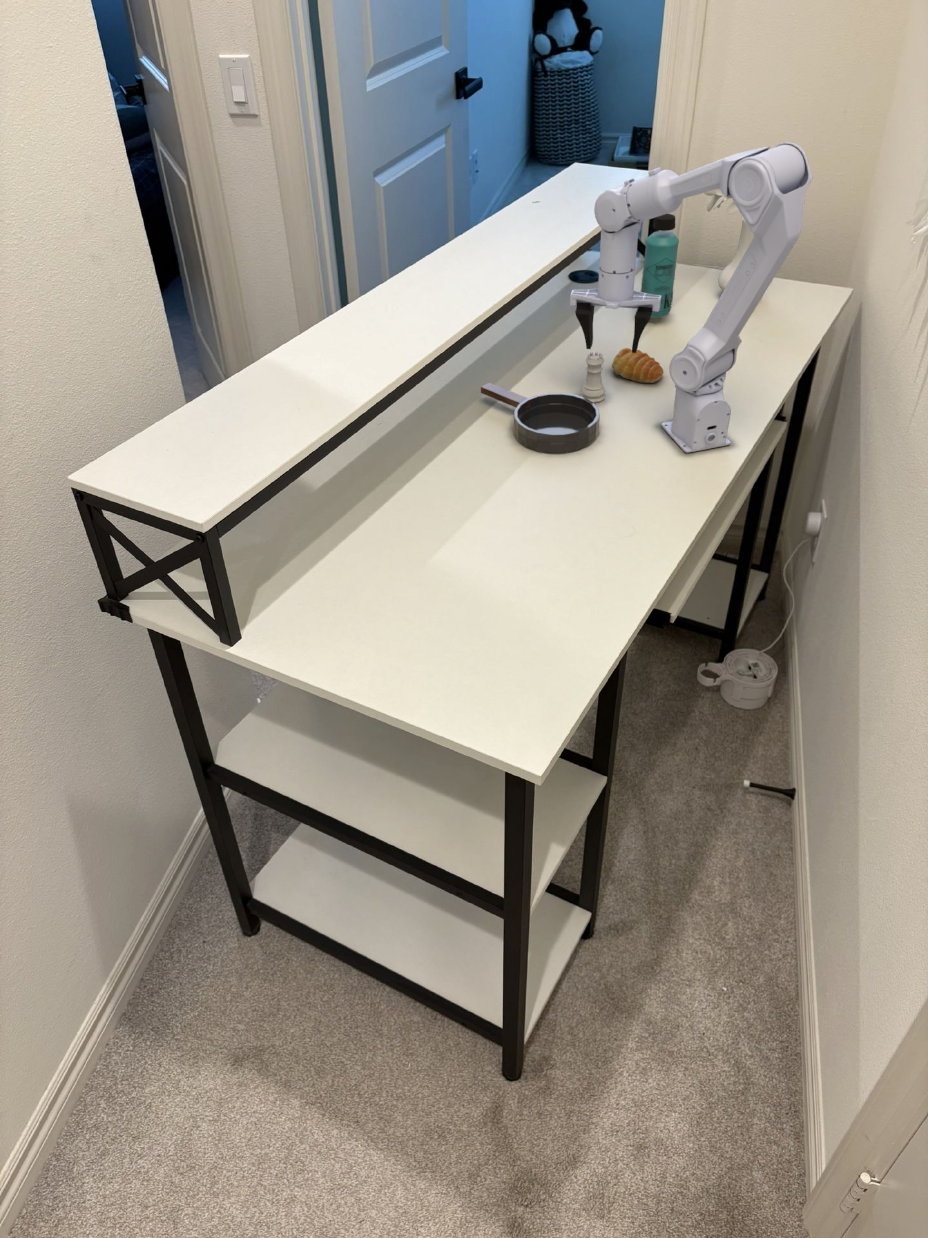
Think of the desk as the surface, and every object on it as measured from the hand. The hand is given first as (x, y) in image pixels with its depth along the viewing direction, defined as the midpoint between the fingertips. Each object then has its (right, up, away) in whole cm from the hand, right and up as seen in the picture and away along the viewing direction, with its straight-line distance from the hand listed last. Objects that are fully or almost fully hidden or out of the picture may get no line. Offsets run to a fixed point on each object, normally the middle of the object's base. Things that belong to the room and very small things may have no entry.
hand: (611, 348), depth 150 cm
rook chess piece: (-2, -7, +7) cm, 10 cm away
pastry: (+7, -1, +13) cm, 15 cm away
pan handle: (-18, -8, +3) cm, 20 cm away
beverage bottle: (+14, +15, +31) cm, 37 cm away
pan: (-10, -15, -1) cm, 17 cm away
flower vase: (+32, +22, +37) cm, 53 cm away
